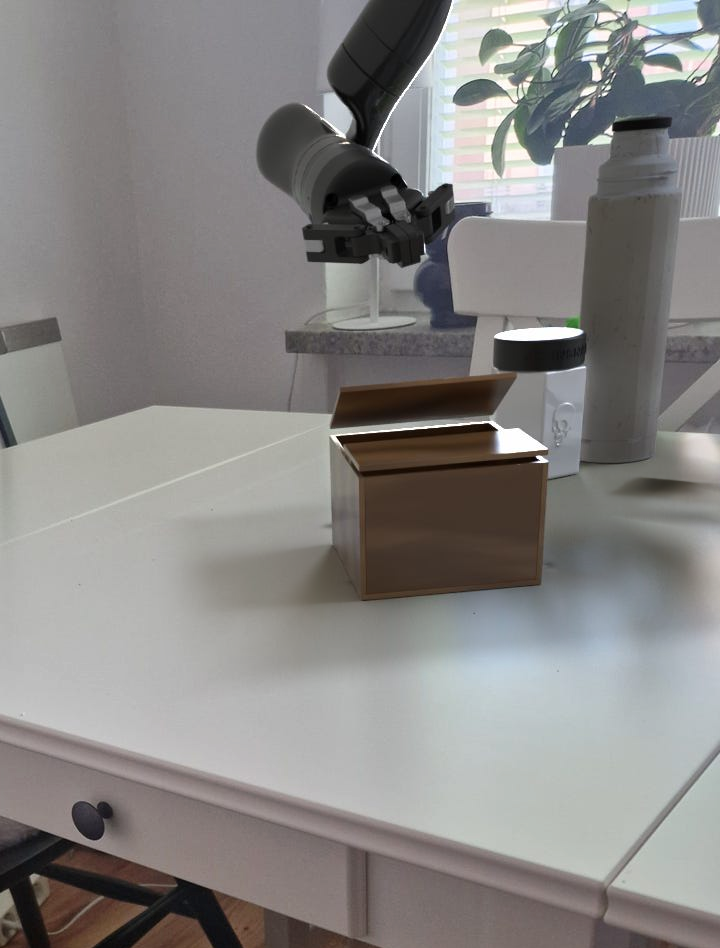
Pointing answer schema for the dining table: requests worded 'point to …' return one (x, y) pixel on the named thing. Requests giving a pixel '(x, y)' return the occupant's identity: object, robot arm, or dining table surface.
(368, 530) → the carton
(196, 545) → the dining table surface
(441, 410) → the flap
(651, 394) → the thermos bottle
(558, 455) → the jar
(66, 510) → the dining table surface
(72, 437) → the dining table surface
